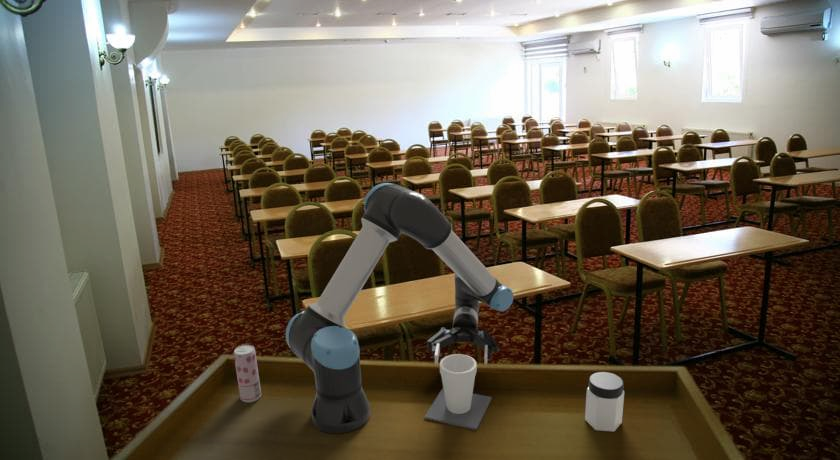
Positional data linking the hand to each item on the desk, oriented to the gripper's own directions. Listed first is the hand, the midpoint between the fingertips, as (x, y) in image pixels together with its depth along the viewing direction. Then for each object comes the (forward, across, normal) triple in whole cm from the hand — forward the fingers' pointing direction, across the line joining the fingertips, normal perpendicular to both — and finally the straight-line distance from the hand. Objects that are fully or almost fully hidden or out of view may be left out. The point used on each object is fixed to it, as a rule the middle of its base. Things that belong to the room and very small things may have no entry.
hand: (460, 360), depth 167 cm
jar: (+12, -37, -9) cm, 39 cm away
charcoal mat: (+9, 0, -9) cm, 13 cm away
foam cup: (+9, 0, -8) cm, 13 cm away
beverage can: (+9, +58, -9) cm, 59 cm away
